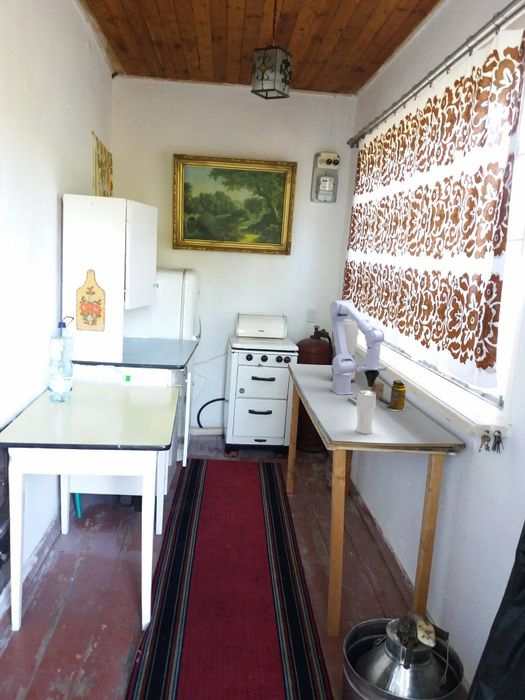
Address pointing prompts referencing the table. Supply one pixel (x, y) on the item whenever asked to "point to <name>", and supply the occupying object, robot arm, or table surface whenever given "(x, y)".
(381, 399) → the dark gray rod
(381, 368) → the robot arm
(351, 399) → the panel
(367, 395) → the beer glass
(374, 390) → the walnut block
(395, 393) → the condiment
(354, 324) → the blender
